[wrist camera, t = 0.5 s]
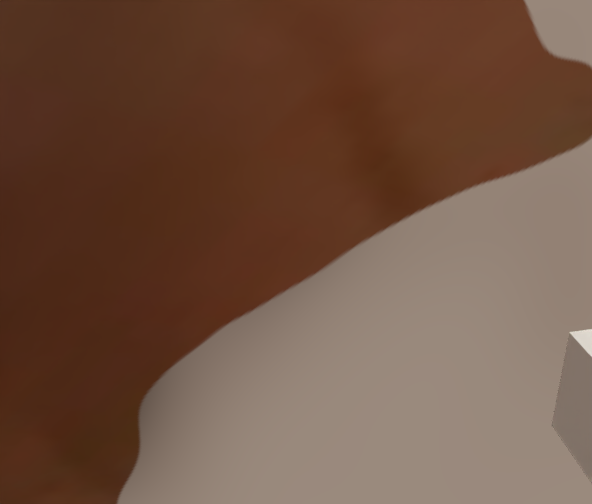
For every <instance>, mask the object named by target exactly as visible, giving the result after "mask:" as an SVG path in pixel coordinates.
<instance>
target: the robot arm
mask: <svg viewBox="0 0 592 504" xmlns="http://www.w3.org/2000/svg"><path fill="white" fill-rule="evenodd" d="M552 426H553V428H554V429H555V431H556V432H557V434H558V435H559V437H560V438H561V440H562V441H563V442H564V444H565V445H566V447H567V448H568V450H569V451H570V453H571V454H572V456H573V457H574V458H575V460H576V461H577V463H578V464H579V466H580V467H581V468H582V470H583V472H584V473H585V474H586V476H587V477H588V479H589V480H590V481H591V483H592V329H589V330H582V331H576V332H570V333H569V338H568V343H567V348H566V353H565V359H564V364H563V369H562V375H561V379H560V385H559V390H558V395H557V400H556V406H555V411H554V416H553V421H552Z"/></svg>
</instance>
